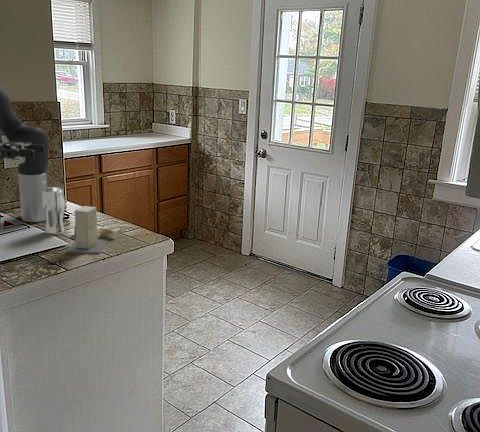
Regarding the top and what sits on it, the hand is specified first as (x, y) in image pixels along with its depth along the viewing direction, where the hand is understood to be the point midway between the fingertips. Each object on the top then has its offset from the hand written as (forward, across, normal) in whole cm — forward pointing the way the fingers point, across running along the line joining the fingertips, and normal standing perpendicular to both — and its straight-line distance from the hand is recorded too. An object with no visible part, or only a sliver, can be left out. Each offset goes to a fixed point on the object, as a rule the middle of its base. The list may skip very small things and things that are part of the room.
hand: (39, 151), depth 143 cm
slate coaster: (+13, 0, +30) cm, 33 cm away
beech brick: (+18, +11, +30) cm, 37 cm away
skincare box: (+13, 0, +30) cm, 32 cm away
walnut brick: (+9, +10, +30) cm, 33 cm away
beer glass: (-1, +13, +30) cm, 33 cm away
